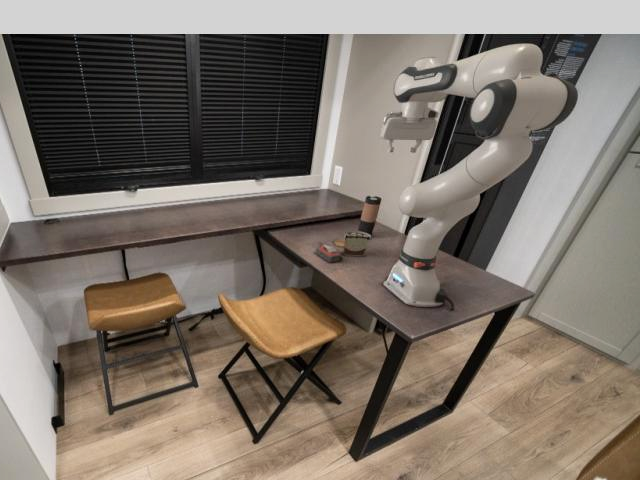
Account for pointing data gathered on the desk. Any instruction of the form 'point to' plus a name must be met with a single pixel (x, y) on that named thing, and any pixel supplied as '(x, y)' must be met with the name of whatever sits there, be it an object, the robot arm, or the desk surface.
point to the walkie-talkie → (328, 253)
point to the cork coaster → (340, 242)
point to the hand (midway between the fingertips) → (401, 152)
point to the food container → (356, 243)
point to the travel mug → (369, 214)
